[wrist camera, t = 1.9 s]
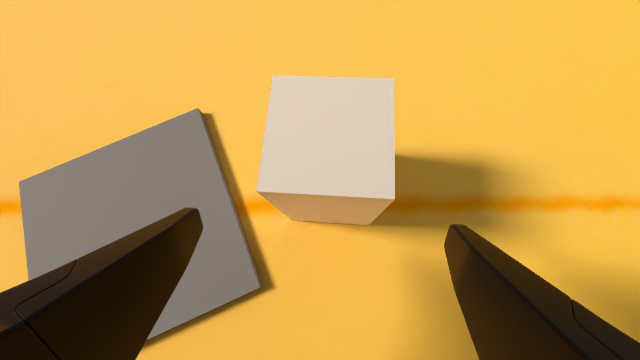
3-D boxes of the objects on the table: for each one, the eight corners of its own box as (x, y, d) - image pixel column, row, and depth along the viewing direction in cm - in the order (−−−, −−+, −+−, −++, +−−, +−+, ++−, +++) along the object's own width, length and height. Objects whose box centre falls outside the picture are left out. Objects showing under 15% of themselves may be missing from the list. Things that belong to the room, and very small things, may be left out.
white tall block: (368, 225, 20) (395, 199, 11) (291, 220, 21) (256, 191, 12) (370, 152, 22) (394, 78, 13) (298, 149, 22) (272, 75, 13)
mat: (263, 286, 20) (260, 287, 19) (51, 384, 19) (39, 389, 18) (202, 112, 24) (197, 108, 23) (29, 184, 23) (18, 181, 22)
